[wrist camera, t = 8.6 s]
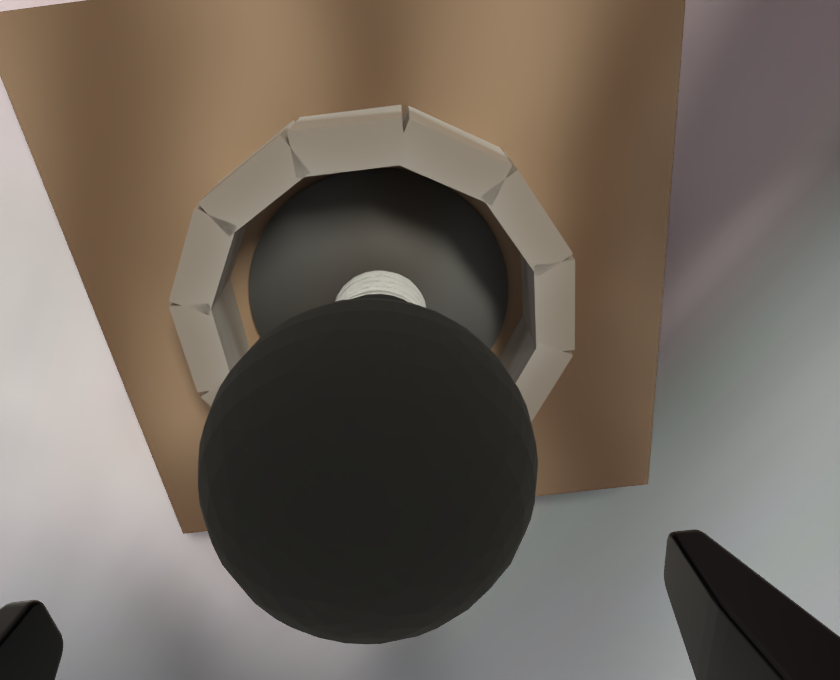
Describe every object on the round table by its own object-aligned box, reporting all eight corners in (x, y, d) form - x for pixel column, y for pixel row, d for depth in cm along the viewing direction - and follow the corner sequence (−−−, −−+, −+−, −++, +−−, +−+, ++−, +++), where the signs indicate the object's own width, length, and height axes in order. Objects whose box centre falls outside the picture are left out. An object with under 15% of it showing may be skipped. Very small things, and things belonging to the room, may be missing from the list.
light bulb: (368, 419, 19) (342, 767, 11) (229, 283, 17) (49, 580, 8) (526, 312, 18) (652, 615, 9) (396, 146, 16) (394, 333, 7)
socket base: (665, -72, 15) (734, -91, 12) (633, 456, 22) (670, 527, 19) (12, 14, 15) (-85, 15, 12) (195, 503, 23) (163, 580, 20)
